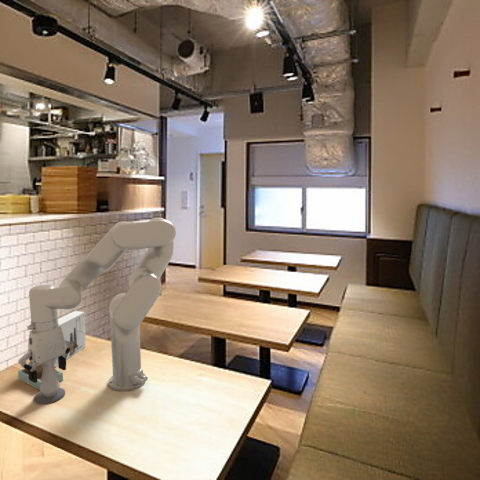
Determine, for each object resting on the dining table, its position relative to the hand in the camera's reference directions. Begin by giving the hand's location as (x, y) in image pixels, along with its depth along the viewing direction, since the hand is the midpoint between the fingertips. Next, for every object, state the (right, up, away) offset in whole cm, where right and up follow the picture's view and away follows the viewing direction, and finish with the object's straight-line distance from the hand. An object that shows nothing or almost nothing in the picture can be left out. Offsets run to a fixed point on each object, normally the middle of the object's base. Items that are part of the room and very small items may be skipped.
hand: (48, 375), depth 122 cm
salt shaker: (0, -7, +1) cm, 7 cm away
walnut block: (-12, -6, +13) cm, 19 cm away
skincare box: (-8, -4, +30) cm, 31 cm away
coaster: (0, -7, +1) cm, 7 cm away
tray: (-9, -6, +12) cm, 16 cm away
